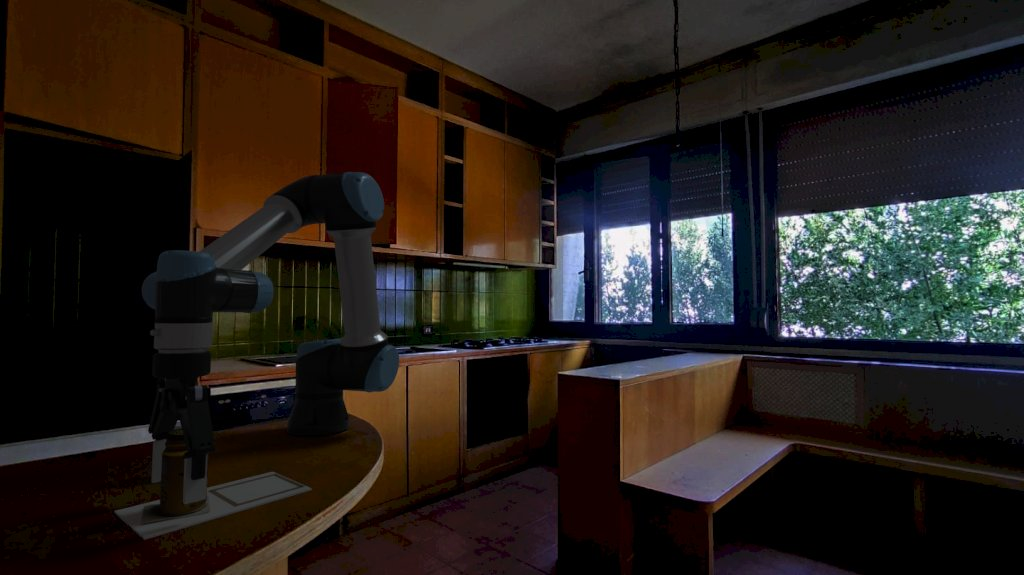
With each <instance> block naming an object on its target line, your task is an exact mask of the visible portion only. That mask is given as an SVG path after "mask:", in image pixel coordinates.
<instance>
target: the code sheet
mask: <svg viewBox="0 0 1024 575" xmlns="http://www.w3.org/2000/svg"><path fill="white" fill-rule="evenodd" d="M312 490H313V488H311V487H310V486H307V485H305V484H302V483H300V482H298V481H295V480H293V479H291V478H289V477H287V476H284V475H282V474H279V473H277V472H275V471H270V472H269V471H268V472H265V473H262V474H258V475H252V476H249V477H246V478H245V477H244V478H241V479H238V480H237V479H236V480H234V481H229V482H225V483H221V484H217V485H214V486H209V487H208V486H207V496H208V497H209V507H210V511H209V512H206V513H202V514H197V515H191V516H185V517H180V518H172V519H165V520H161V521H155V522H149V523H145V524H141V519H142V514H143V509H144V506H147V505H152V504H160V499H157V500H152V501H149V502H144V503H141V504H137V505H133V506H129V507H126V508H125V507H124V508H121V509H116V510H114V514H115V515H116V516H117V517H118V518H119V519H120V520H121V521H123V522H124V524H126V525H127V526H128V525H129V526H130V527H131V528H132V531H134V533H136V534H137V535H138V536H139V537H140V538H141V537H142V538H143V539H142V538H141V539H142V540H144V541H145V540H148V539H152V538H155V537H159V536H161V535H165V534H168V533H172V532H176V531H180V530H183V529H186V528H189V527H192V526H196V525H199V524H203V523H206V522H209V521H212V520H215V519H216V520H217V519H218V518H222V517H223V518H224V517H226V516H229V515H233V514H236V513H239V512H242V511H245V510H249V509H252V508H255V507H260V506H262V505H267V504H270V503H272V502H276V501H280V500H283V499H286V498H290V497H292V496H297V495H300V494H302V493H303V494H304V493H307V492H310V491H312ZM129 526H128V527H129ZM130 527H129V528H130ZM131 528H130V529H131Z"/></svg>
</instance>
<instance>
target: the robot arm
mask: <svg viewBox="0 0 1024 575" xmlns="http://www.w3.org/2000/svg"><path fill="white" fill-rule="evenodd" d="M384 210H385V201H384V195H383V193H382V190H381V187H380V186H379V184H378V183H377V181H376V180H375V179H374V178H373V176H371V175H370V174H368V173H365V172H362V171H361V172H360V171H345V172H335V173H328V174H313V175H307V176H304V177H301V178H299V179H297V180H295V181H293V182H290V183H289V184H287V185H285V186H283V187H282V188H280V189H279V190H277V191H275V192H274V193H273V194H271V195H270V196H268V197H267V198H265V200H264V202H263V205H262V207H261V208H259V209H258V210H257V211H255V212H254V213H252V214H251V215H249V216H248V217H247V218H245V219H244V220H242V221H241V222H240V223H238V224H237V225H235V226H234V227H232V228H231V229H229V230H227V232H225V233H224V234H222V235H220V236H219V237H218V238H217V239H215V240H214V241H212V242H211V243H209V244H208V245H207V246H205V247H203V248H202V249H200V250H199V251H198V250H181V249H177V250H176V249H175V250H166V251H163V252H161V253H160V254H159V256H158V259H157V264H156V265H157V266H156V271H154V272H152V273H150V274H149V275H148V276H147V277H146V278H145V279H144V280H143V283H142V286H141V295H142V299H143V301H144V302H145V303H146V305H147V306H148V307H150V309H152V310H154V329H151V330H150V332H149V334H150V336H152V337H154V338H153V348H154V349H155V350H158V352H155V353H154V355H152V369H151V370H152V373H151V374H152V377H154V378H155V379H157V381H156V384H157V385H156V394H155V398H154V403H153V407H152V412H151V415H150V421H149V424H148V429H147V431H148V434H150V435H151V439H152V441H153V442H152V462H151V483H152V484H156V483H161V469H162V467H161V466H162V453H163V451H164V450H165V448H166V446H165V443H166V434H167V433H168V432H170V431H172V430H174V428H175V426H176V423H177V422H178V420H179V422H180V423H181V428H182V432H183V436H184V440H185V444H186V449H187V452H185V454H184V455H183V457H182V458H183V459H185V460H184V485H183V504H188V503H192V502H196V501H200V500H204V499H206V481H207V482H208V480H207V454H208V455H209V454H211V453H215V451H216V443H215V438H214V431H213V425H212V424H213V423H212V418H211V417H212V416H211V411H210V404H209V387H208V385H207V384H205V385H199V378H200V377H205V376H208V375H209V374H210V373H211V370H212V369H211V368H212V365H211V364H212V352H210V351H208V349H210V348H211V347H212V346H213V331H214V330H213V329H214V328H213V326H214V323H213V320H214V319H213V316H214V313H244V314H251V313H258V312H259V313H260V312H261V311H264V310H266V309H267V308H268V307H269V306H270V305H271V304H272V302H273V299H274V285H273V282H272V280H271V279H270V277H269V276H268V275H267V274H265V273H262V272H258V271H254V270H252V269H249V270H248V269H247V270H245V269H244V268H246V267H247V266H248V265H250V264H251V263H253V261H254V260H256V259H258V257H260V256H261V255H262V254H264V253H265V252H266V251H267V250H268V249H269V248H270V247H272V246H273V245H274V244H276V243H277V242H278V241H279V240H280V239H282V238H283V237H285V236H286V234H293V233H296V232H297V231H299V230H300V229H302V228H303V227H306V226H310V225H311V226H312V225H316V224H317V225H319V224H323V225H325V232H326V233H327V234H328V235H329V236H331V237H332V238H333V244H334V253H335V259H336V260H335V261H336V268H337V276H338V279H337V280H338V285H339V293H340V294H339V295H340V303H341V311H342V319H343V329H344V336H342V338H332V339H324V340H314V341H306V342H302V343H300V344H299V345H298V346H297V348H296V357H295V390H294V391H295V392H294V393H295V395H294V396H295V398H294V402H293V406H292V409H291V411H290V414H289V416H288V420H287V423H286V433H287V434H288V433H289V435H291V436H296V437H297V436H298V437H318V435H322V436H328V435H327V434H329V435H333V434H332V433H335V434H337V433H336V432H339V433H341V432H340V431H343V430H345V429H347V428H348V427H349V428H350V415H349V414H348V413H349V412H348V409H347V407H346V404H345V400H344V391H350V392H351V391H353V392H363V393H364V392H366V393H372V392H373V393H374V392H375V393H376V392H377V393H380V392H384V391H386V390H388V389H389V388H390V387H391V386H392V385H393V383H394V382H395V379H396V377H397V375H398V371H399V368H400V367H399V366H400V354H399V351H398V350H397V347H396V346H394V345H392V344H389V339H388V335H387V333H385V332H384V331H382V330H381V321H380V312H379V303H378V302H379V301H378V294H377V293H378V292H377V284H376V282H377V281H376V273H375V265H374V264H375V263H374V254H373V246H372V234H373V233H374V232H375V231H376V229H377V222H378V221H379V220H381V219H382V217H383V216H384ZM243 269H244V270H243ZM347 430H348V429H347ZM345 431H346V430H345ZM343 432H344V431H343ZM199 445H200V446H199Z"/></svg>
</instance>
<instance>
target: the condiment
mask: <svg viewBox="0 0 1024 575" xmlns="http://www.w3.org/2000/svg"><path fill="white" fill-rule="evenodd" d="M165 446H166V448H165V450H164V451H163V453H162V466H161V467H162V469H161V481H160V491H159V492H160V493H159V494H160V496H159V500H160V504H152V505H147V506H144V509H143V514H142V519H141V524H145V523H149V522H155V521H161V520H165V519H172V518H180V517H185V516H191V515H197V514H202V513H206V512H209V511H210V507H209V497H208V496H207V488H208V480H209V479H208V478H209V477H208V475H209V474H208V473H209V454H207V481H206V499H204V500H200V501H196V502H192V503H188V504H183V485H184V460H185V459H183V458H182V457H183V455H184V454H185V452H187V449H186V444H185V440H184V436H183V432H182V428H180V429H175V430H172V431H170V432H168V433H167V434H166V443H165ZM199 446H200V445H199Z"/></svg>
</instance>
